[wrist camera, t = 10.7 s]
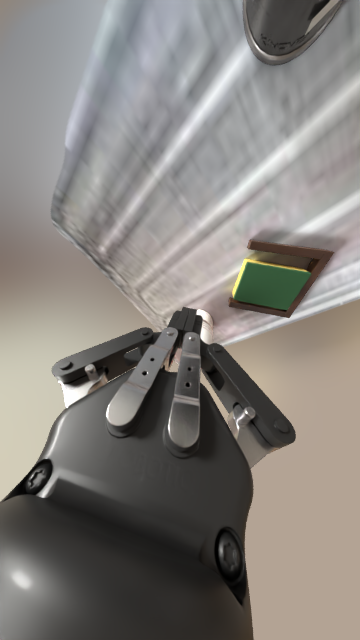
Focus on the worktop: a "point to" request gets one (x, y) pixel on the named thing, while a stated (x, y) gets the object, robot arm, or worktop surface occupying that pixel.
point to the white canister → (205, 332)
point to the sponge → (269, 284)
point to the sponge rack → (314, 268)
